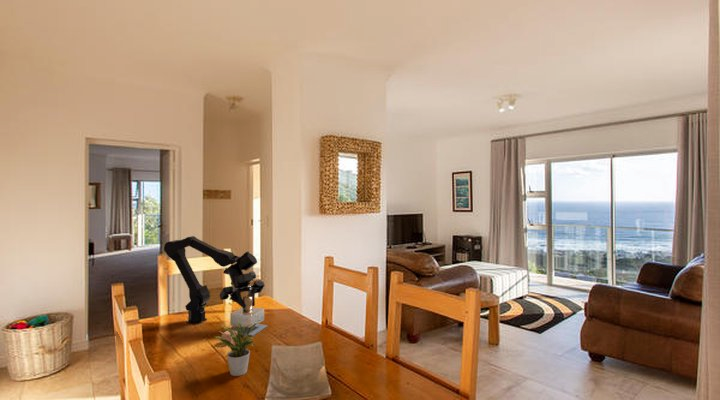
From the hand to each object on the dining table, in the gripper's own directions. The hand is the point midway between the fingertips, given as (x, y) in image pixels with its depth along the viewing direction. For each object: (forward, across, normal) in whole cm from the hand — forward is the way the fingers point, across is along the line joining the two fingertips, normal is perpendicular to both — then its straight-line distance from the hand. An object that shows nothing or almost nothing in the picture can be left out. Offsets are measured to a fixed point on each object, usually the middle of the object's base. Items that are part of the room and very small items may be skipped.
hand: (249, 306), depth 160 cm
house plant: (+29, -20, -15) cm, 38 cm away
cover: (+4, 0, +6) cm, 7 cm away
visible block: (+12, -12, +3) cm, 17 cm away
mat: (+6, 0, +8) cm, 10 cm away
